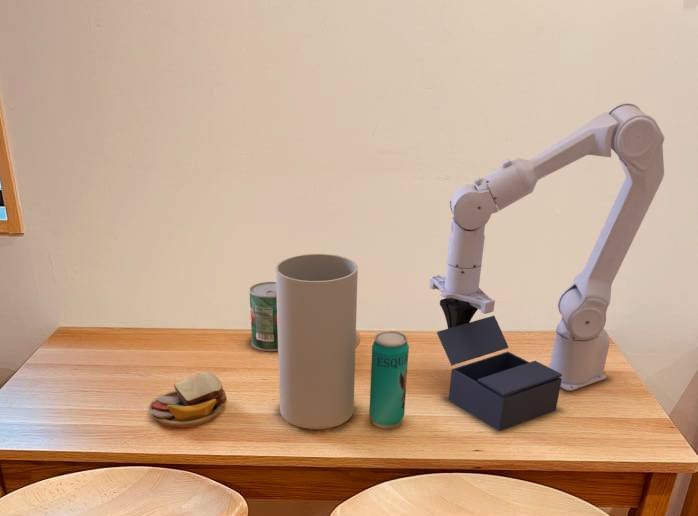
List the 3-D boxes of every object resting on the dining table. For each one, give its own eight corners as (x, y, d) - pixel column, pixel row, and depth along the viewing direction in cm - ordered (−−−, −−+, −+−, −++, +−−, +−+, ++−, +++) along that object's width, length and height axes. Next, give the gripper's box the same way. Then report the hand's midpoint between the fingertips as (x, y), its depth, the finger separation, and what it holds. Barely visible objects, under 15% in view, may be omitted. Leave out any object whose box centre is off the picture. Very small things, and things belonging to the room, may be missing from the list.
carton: (448, 400, 147) (451, 364, 143) (503, 381, 152) (508, 347, 148) (498, 431, 138) (504, 394, 134) (555, 410, 143) (562, 374, 139)
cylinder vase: (269, 424, 141) (263, 276, 126) (294, 391, 150) (292, 250, 135) (340, 436, 137) (343, 285, 122) (362, 402, 147) (367, 258, 132)
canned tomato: (250, 336, 170) (247, 282, 163) (289, 333, 171) (288, 280, 164) (253, 352, 164) (250, 297, 157) (293, 350, 164) (292, 295, 158)
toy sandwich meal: (142, 401, 148) (139, 377, 145) (217, 389, 152) (215, 364, 149) (157, 435, 139) (153, 409, 136) (236, 421, 142) (234, 395, 139)
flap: (452, 364, 143) (451, 365, 143) (508, 347, 148) (507, 348, 148) (437, 331, 143) (436, 332, 144) (494, 315, 148) (493, 316, 149)
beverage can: (401, 432, 138) (407, 346, 129) (366, 429, 139) (370, 343, 130) (405, 415, 143) (411, 331, 134) (371, 412, 144) (374, 329, 135)
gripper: (418, 255, 145) (412, 330, 153) (474, 280, 135) (465, 359, 143) (450, 247, 148) (443, 321, 156) (508, 271, 138) (497, 349, 146)
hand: (456, 339), depth 149 cm, fingers closed
